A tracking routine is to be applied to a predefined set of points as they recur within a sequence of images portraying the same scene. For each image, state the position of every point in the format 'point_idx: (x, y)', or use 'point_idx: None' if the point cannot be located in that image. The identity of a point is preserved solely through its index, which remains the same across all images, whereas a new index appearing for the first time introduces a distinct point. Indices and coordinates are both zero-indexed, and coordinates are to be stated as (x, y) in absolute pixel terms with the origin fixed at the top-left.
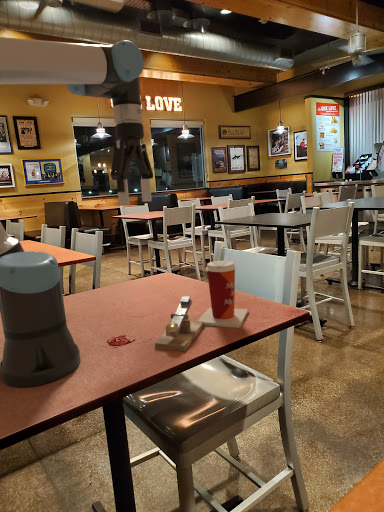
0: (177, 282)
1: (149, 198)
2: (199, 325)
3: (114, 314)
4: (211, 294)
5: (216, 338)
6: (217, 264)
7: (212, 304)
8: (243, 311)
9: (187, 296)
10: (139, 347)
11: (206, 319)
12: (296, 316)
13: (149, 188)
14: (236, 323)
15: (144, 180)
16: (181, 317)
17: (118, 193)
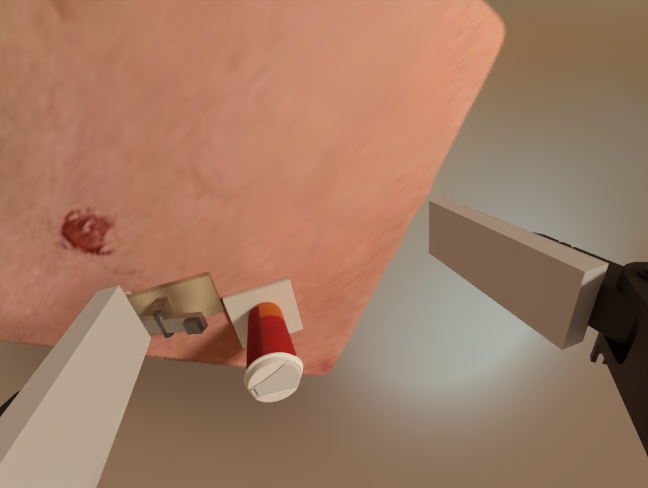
0: (428, 117)
1: (439, 255)
2: (205, 315)
3: (180, 119)
4: (249, 335)
5: (194, 341)
6: (263, 384)
7: (249, 323)
8: (292, 328)
9: (199, 329)
10: (94, 278)
11: (238, 305)
12: (309, 373)
13: (488, 294)
14: (244, 343)
15: (560, 303)
16: (158, 331)
17: (54, 356)
